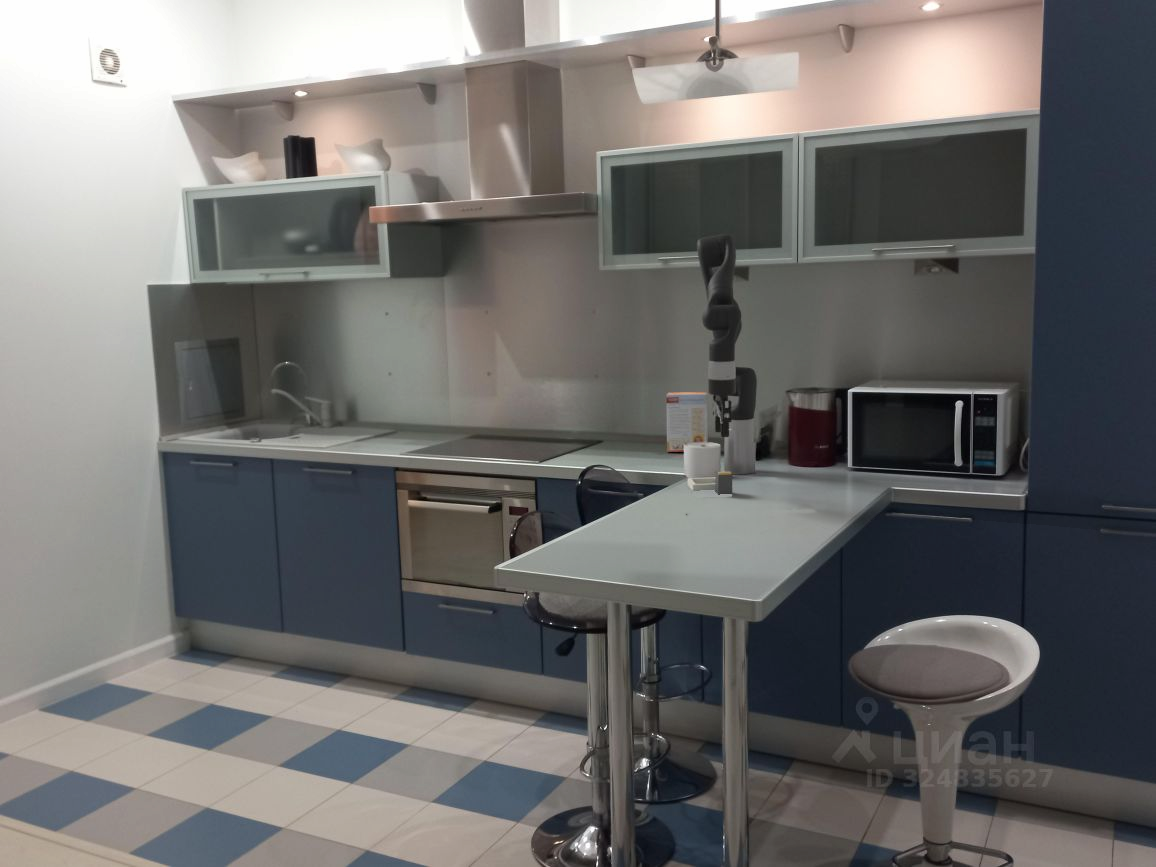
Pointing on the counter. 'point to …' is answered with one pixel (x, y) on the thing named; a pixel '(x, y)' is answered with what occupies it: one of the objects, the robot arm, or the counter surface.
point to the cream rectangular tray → (701, 483)
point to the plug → (723, 483)
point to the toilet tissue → (702, 459)
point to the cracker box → (686, 419)
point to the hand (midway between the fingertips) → (721, 434)
